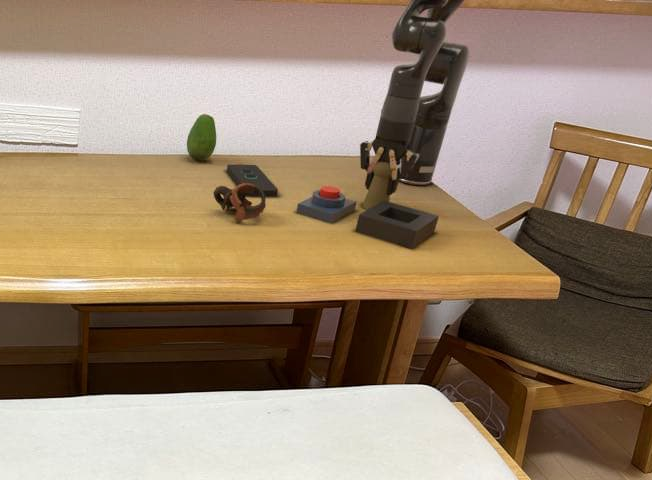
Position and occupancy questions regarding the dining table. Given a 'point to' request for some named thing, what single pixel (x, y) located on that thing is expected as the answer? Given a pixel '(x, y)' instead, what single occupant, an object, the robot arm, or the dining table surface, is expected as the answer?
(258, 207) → the brown looped knot
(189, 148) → the avocado
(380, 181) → the cork
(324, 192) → the power button
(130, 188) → the dining table surface
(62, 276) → the dining table surface
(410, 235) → the socket
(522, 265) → the dining table surface
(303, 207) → the power block
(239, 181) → the smart home device
